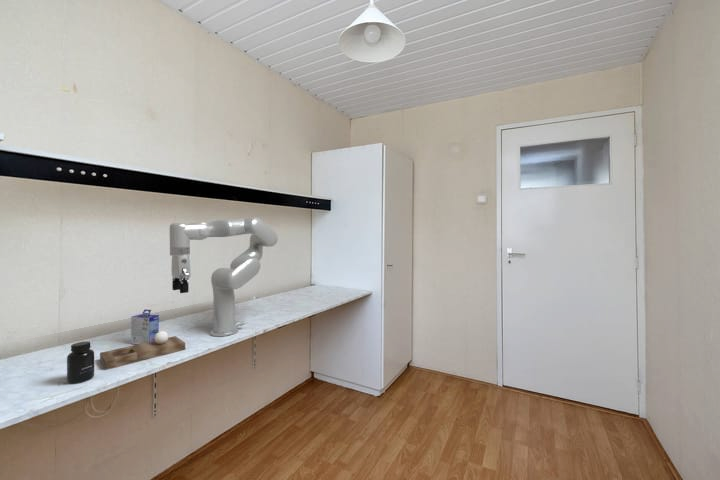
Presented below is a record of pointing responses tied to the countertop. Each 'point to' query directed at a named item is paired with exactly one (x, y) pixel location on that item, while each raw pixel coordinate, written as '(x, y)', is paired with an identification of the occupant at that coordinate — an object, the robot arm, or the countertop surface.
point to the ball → (161, 337)
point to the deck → (140, 352)
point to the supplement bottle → (80, 363)
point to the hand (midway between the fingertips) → (180, 291)
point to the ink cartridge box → (144, 327)
